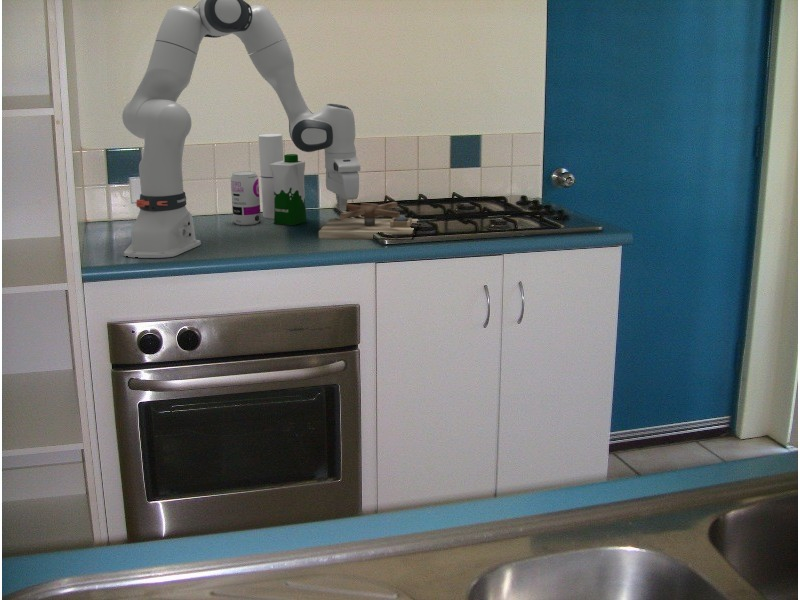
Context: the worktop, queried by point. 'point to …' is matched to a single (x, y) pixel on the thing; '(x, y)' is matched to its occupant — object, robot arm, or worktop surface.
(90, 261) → the worktop surface
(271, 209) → the cylindrical container
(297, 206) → the milk carton
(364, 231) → the stand
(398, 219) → the ball
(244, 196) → the supplement can
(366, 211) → the capstan
